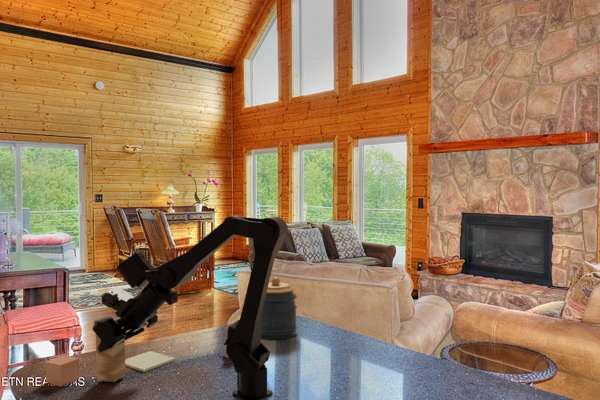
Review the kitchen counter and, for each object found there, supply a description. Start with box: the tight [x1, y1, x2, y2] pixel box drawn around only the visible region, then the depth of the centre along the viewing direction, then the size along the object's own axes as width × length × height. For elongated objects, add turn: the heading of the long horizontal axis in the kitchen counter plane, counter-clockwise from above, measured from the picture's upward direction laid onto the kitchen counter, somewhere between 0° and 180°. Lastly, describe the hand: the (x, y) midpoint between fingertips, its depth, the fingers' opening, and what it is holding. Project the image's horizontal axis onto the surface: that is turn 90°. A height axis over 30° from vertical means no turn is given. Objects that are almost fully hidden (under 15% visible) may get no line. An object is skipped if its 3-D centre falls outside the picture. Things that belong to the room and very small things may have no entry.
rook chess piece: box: [222, 325, 231, 360], centre depth 133 cm, size 4×4×8 cm
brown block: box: [93, 315, 127, 383], centre depth 116 cm, size 5×5×14 cm
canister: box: [260, 276, 298, 341], centre depth 152 cm, size 13×13×18 cm
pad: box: [125, 350, 176, 373], centre depth 128 cm, size 10×10×1 cm
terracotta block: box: [45, 355, 80, 387], centre depth 116 cm, size 5×5×5 cm
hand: (105, 347), depth 116 cm, fingers closed on brown block, 4 cm apart
